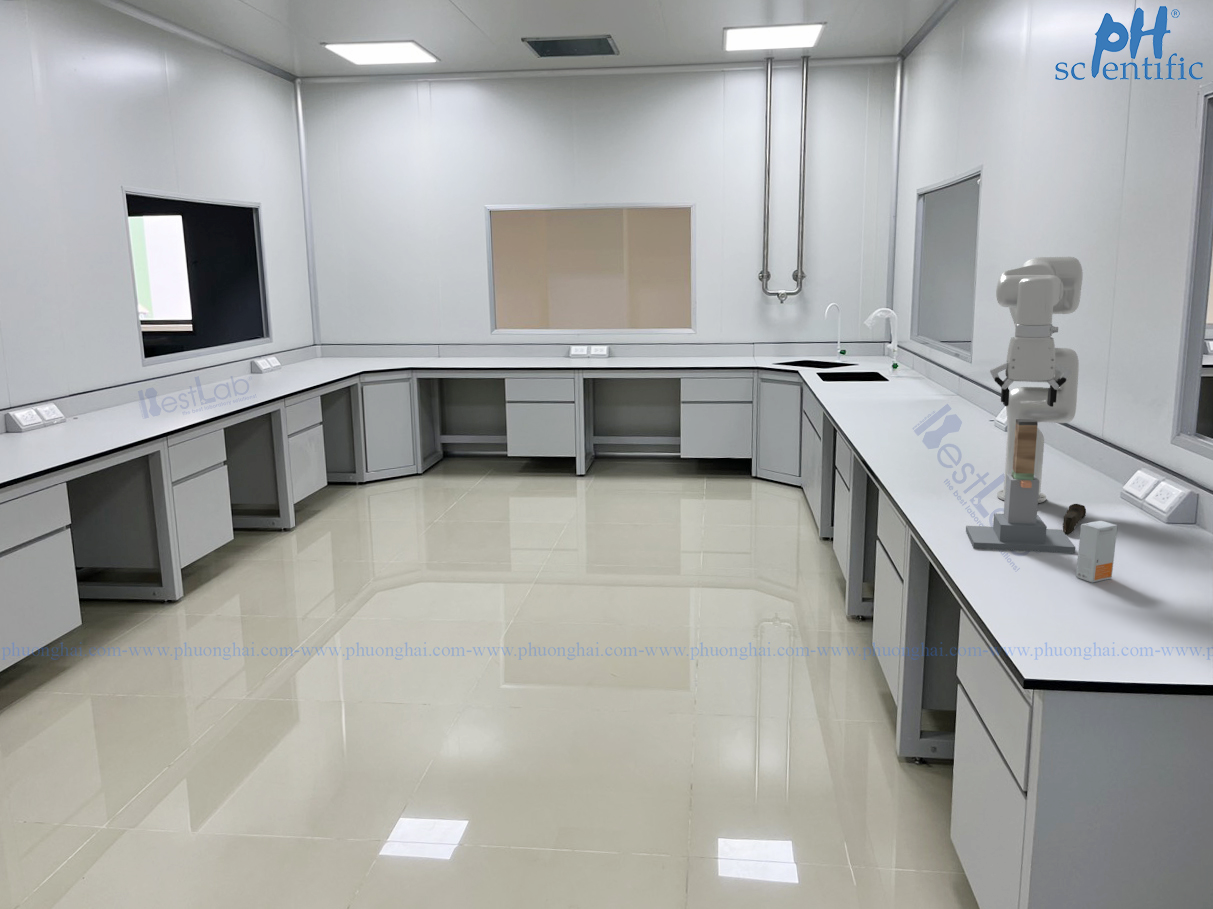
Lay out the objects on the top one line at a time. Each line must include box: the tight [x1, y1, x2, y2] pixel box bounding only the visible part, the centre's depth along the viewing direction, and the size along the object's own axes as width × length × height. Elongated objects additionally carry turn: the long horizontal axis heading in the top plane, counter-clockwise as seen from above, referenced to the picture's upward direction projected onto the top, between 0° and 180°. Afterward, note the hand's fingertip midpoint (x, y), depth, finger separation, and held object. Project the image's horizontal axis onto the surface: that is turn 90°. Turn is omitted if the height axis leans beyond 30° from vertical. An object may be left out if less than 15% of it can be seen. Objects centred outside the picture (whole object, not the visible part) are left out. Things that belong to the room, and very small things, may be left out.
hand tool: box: [1062, 503, 1087, 536], centre depth 233 cm, size 19×4×5 cm, turn 143°
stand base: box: [965, 474, 1076, 554], centre depth 220 cm, size 14×22×16 cm, turn 76°
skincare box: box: [1075, 520, 1118, 583], centre depth 195 cm, size 6×4×12 cm
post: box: [1012, 419, 1039, 480], centre depth 217 cm, size 4×4×17 cm
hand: (1027, 405), depth 215 cm, fingers open, 9 cm apart
